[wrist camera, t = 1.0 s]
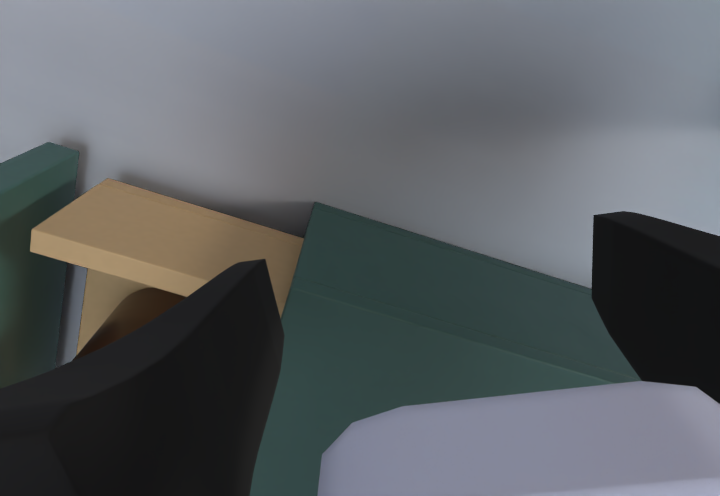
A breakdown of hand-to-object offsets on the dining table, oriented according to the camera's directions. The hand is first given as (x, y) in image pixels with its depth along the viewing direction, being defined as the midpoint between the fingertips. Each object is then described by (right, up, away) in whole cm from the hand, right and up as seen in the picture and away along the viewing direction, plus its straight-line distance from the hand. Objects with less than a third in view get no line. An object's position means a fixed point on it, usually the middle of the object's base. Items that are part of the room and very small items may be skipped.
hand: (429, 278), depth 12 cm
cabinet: (+1, -5, +14) cm, 15 cm away
